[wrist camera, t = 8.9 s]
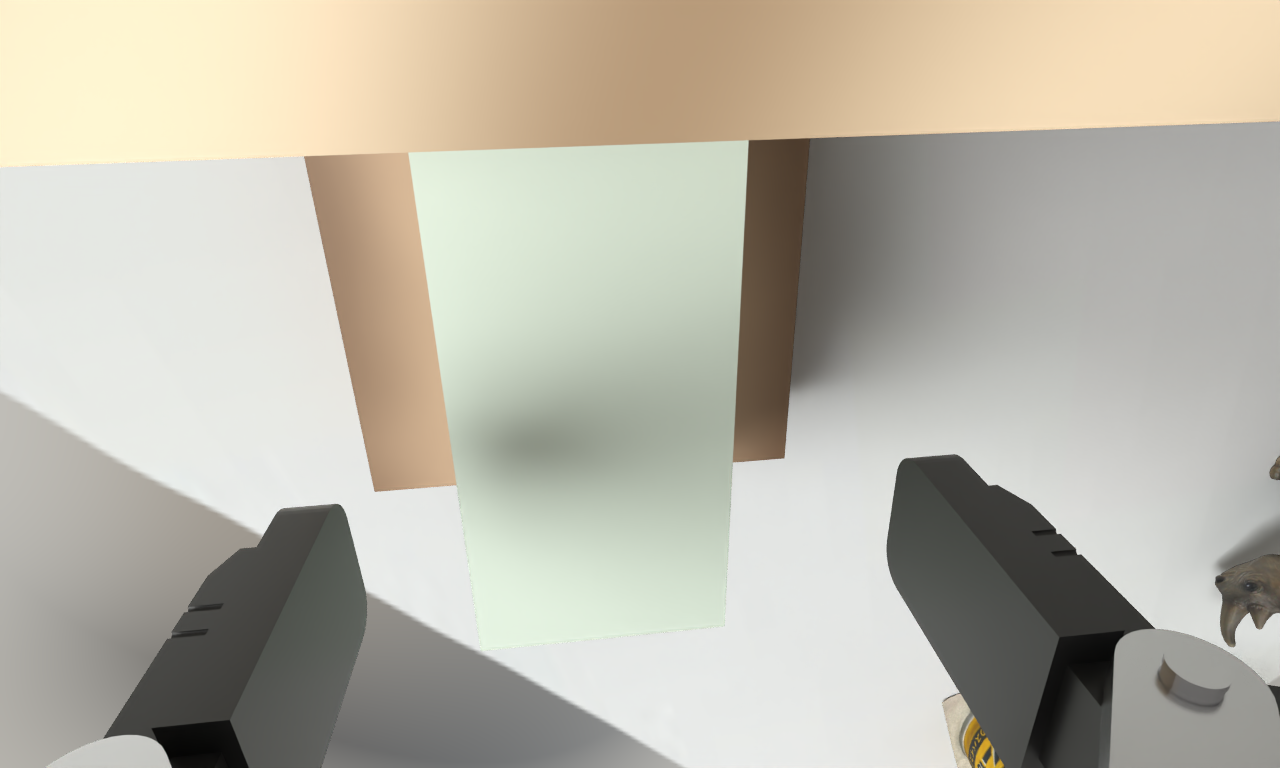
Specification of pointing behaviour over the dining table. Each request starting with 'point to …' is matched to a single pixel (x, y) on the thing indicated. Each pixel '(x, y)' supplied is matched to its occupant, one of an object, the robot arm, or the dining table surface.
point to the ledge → (403, 326)
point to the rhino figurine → (1250, 589)
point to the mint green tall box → (588, 379)
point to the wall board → (606, 72)
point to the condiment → (968, 737)
